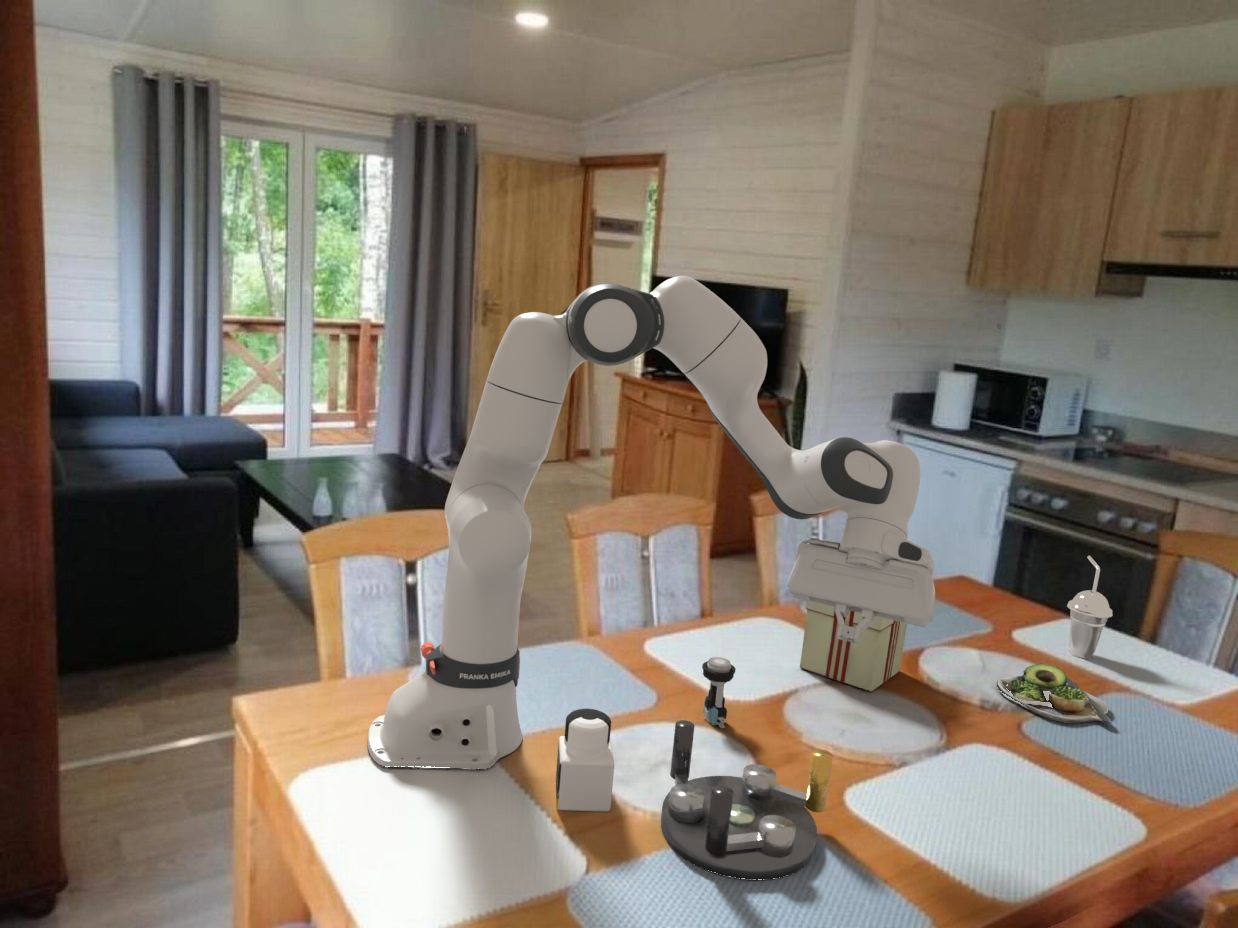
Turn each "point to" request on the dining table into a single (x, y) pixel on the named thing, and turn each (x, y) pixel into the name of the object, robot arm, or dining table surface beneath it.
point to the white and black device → (585, 763)
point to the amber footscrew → (763, 787)
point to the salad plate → (1054, 695)
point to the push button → (717, 688)
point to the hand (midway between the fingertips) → (847, 640)
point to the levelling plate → (743, 820)
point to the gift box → (851, 648)
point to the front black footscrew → (770, 838)
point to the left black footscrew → (684, 777)
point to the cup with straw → (1087, 619)
